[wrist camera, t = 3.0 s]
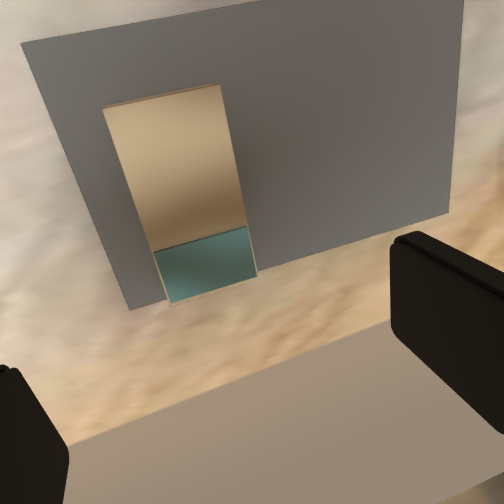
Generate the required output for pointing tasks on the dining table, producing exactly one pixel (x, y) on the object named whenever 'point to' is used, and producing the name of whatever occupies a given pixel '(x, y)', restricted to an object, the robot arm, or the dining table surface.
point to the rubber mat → (273, 117)
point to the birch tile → (185, 189)
